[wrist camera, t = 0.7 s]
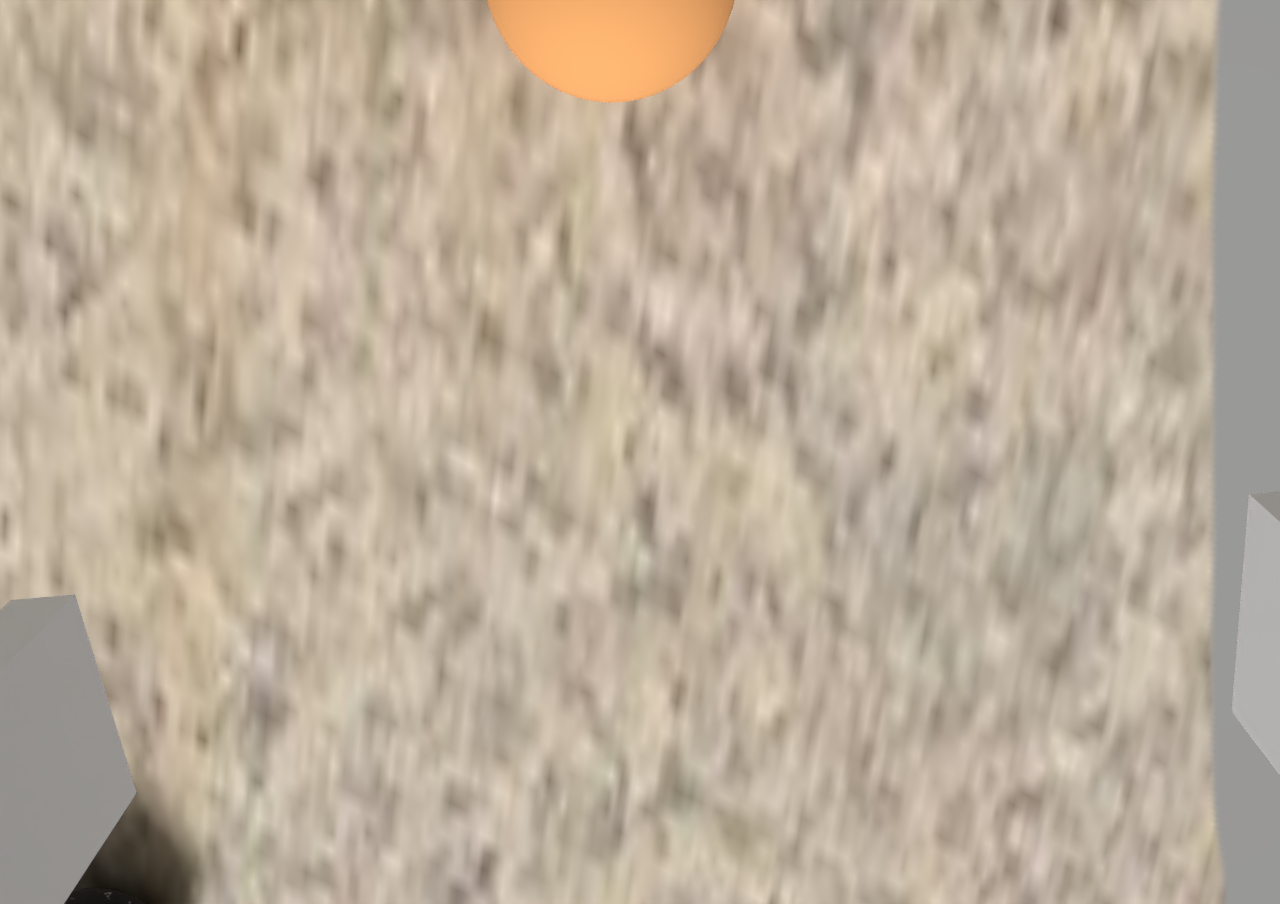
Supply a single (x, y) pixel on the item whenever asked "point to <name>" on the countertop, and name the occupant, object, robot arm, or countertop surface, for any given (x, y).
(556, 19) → the ball
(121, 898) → the billiard ball
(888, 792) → the countertop surface
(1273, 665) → the robot arm
